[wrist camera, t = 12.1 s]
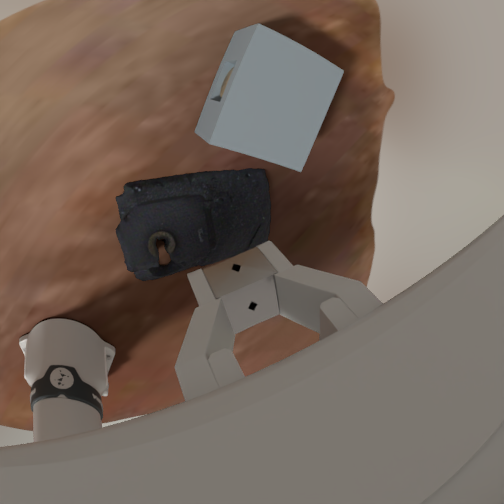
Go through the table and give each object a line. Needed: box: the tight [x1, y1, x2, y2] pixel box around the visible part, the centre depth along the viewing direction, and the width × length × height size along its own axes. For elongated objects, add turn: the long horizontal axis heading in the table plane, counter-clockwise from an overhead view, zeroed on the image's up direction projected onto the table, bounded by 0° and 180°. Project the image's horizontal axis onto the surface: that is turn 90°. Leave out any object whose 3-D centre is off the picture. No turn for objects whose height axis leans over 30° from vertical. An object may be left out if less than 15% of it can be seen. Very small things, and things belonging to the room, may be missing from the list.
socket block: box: [195, 23, 344, 172], centre depth 31 cm, size 14×12×7 cm
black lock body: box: [116, 168, 271, 281], centre depth 39 cm, size 15×22×5 cm
